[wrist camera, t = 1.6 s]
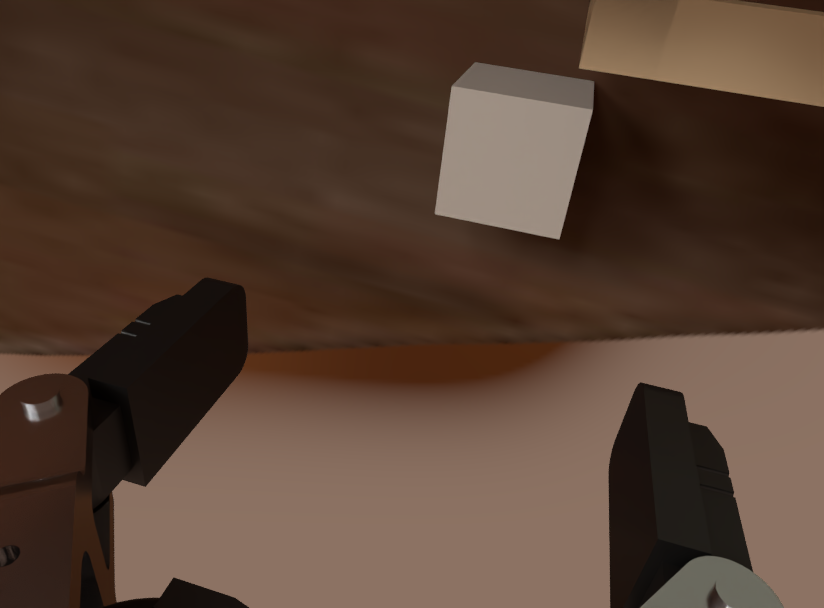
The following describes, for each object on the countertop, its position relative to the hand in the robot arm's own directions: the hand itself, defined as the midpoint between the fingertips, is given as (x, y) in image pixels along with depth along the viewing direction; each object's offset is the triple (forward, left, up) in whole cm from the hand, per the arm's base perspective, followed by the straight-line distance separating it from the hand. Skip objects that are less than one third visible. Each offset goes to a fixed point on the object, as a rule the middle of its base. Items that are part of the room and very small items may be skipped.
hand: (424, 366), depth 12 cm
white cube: (0, 0, -18) cm, 18 cm away
